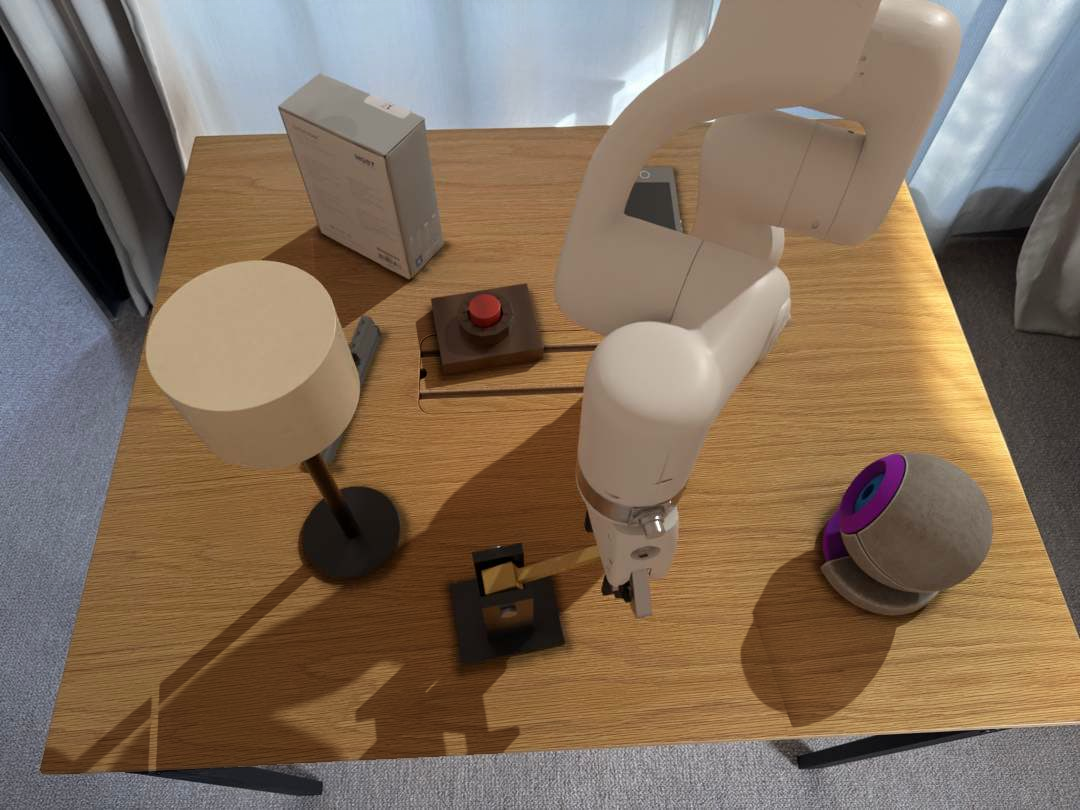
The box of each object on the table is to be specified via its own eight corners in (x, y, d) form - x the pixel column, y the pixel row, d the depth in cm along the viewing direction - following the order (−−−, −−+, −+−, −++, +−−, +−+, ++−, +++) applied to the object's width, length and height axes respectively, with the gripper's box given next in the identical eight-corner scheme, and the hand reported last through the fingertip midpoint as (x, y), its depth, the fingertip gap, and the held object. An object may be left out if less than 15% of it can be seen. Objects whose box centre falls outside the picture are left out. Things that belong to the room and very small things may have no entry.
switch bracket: (547, 568, 79) (549, 520, 68) (565, 646, 74) (570, 608, 64) (450, 587, 77) (436, 542, 66) (463, 668, 73) (450, 633, 62)
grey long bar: (335, 472, 84) (326, 455, 81) (312, 468, 84) (302, 450, 81) (386, 336, 93) (380, 315, 90) (365, 332, 94) (358, 311, 90)
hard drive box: (446, 244, 101) (428, 118, 84) (411, 282, 98) (384, 159, 81) (354, 198, 105) (319, 69, 88) (317, 233, 102) (274, 106, 85)
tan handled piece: (615, 523, 67) (610, 514, 65) (630, 577, 65) (626, 570, 63) (487, 562, 69) (478, 555, 67) (497, 616, 66) (488, 611, 64)
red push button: (497, 301, 92) (497, 291, 90) (503, 324, 90) (502, 315, 88) (467, 305, 91) (466, 296, 90) (472, 329, 90) (471, 320, 88)
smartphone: (684, 250, 101) (685, 247, 100) (621, 251, 100) (622, 247, 100) (672, 170, 108) (673, 166, 108) (614, 170, 108) (615, 166, 108)
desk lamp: (405, 474, 84) (329, 248, 53) (419, 579, 78) (342, 392, 47) (294, 495, 83) (149, 274, 52) (299, 603, 77) (139, 427, 46)
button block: (527, 294, 97) (526, 273, 93) (543, 358, 92) (543, 338, 88) (432, 309, 96) (428, 288, 92) (444, 375, 91) (440, 356, 87)
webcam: (841, 476, 84) (896, 406, 71) (958, 532, 81) (1038, 470, 68) (798, 575, 78) (850, 518, 65) (922, 640, 75) (1002, 594, 62)
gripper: (728, 576, 48) (681, 645, 63) (649, 353, 56) (625, 462, 72) (611, 601, 47) (593, 665, 62) (549, 371, 55) (547, 478, 71)
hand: (610, 556), depth 67 cm, fingers closed on tan handled piece, 5 cm apart
